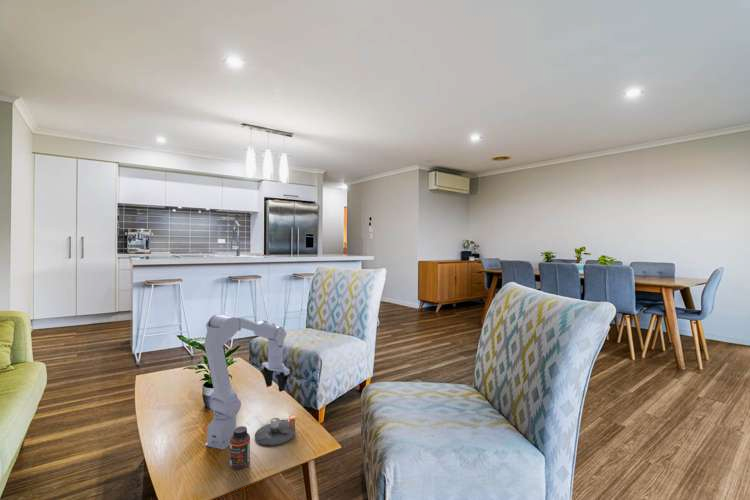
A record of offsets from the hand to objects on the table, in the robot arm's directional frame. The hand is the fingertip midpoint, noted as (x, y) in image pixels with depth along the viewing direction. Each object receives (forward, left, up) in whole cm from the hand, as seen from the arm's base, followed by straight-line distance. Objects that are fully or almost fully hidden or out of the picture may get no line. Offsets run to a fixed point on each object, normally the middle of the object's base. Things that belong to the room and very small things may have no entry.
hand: (275, 388), depth 146 cm
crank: (-13, -12, -9) cm, 20 cm away
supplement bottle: (-32, -9, -10) cm, 35 cm away
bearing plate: (-14, -10, -10) cm, 20 cm away
